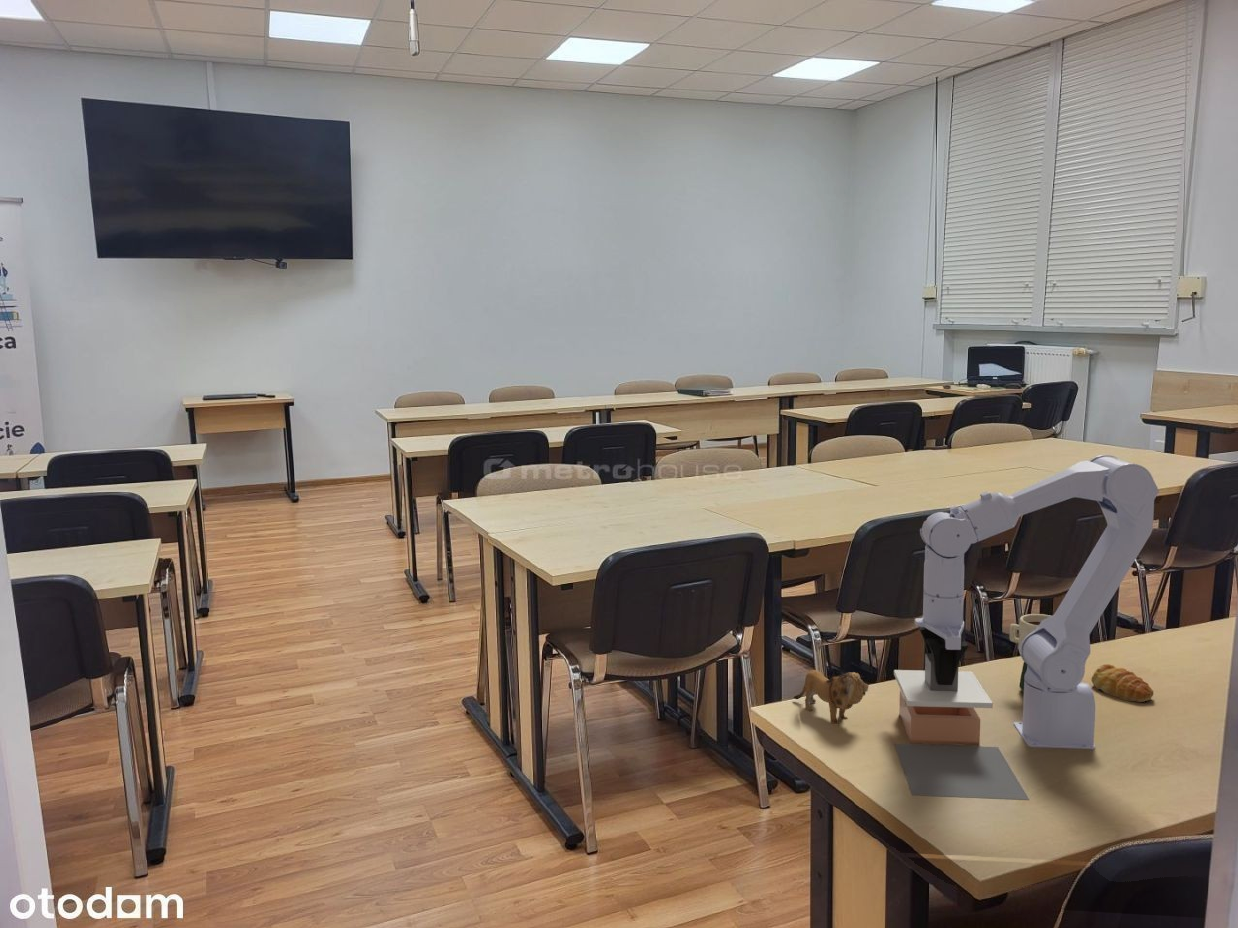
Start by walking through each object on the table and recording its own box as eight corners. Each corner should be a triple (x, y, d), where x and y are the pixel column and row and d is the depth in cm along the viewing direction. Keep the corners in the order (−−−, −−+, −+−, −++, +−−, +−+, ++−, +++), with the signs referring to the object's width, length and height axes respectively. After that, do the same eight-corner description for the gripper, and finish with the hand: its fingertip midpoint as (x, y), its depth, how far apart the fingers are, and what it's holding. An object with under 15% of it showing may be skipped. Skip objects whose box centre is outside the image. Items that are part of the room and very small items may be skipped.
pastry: (1163, 700, 148) (1165, 678, 148) (1134, 708, 146) (1135, 686, 145) (1113, 680, 157) (1114, 659, 157) (1085, 687, 155) (1086, 666, 154)
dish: (963, 718, 144) (964, 692, 143) (979, 747, 134) (980, 719, 133) (899, 716, 145) (899, 690, 144) (910, 745, 135) (911, 717, 135)
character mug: (1081, 696, 151) (1085, 622, 149) (1063, 709, 146) (1067, 633, 144) (1017, 678, 159) (1019, 608, 157) (998, 690, 154) (1001, 618, 152)
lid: (971, 676, 142) (972, 645, 141) (992, 708, 130) (993, 674, 129) (893, 674, 143) (894, 643, 143) (907, 706, 132) (908, 672, 131)
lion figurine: (873, 726, 142) (873, 672, 141) (851, 736, 139) (851, 681, 138) (803, 697, 154) (804, 647, 152) (782, 705, 151) (782, 654, 149)
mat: (997, 749, 133) (997, 747, 133) (1029, 802, 118) (1029, 799, 118) (894, 746, 135) (894, 743, 135) (912, 797, 120) (912, 795, 120)
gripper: (907, 578, 142) (905, 660, 144) (925, 607, 128) (923, 697, 130) (953, 579, 141) (951, 660, 143) (977, 608, 127) (974, 698, 129)
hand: (941, 678), depth 136 cm, fingers closed on lid, 4 cm apart
